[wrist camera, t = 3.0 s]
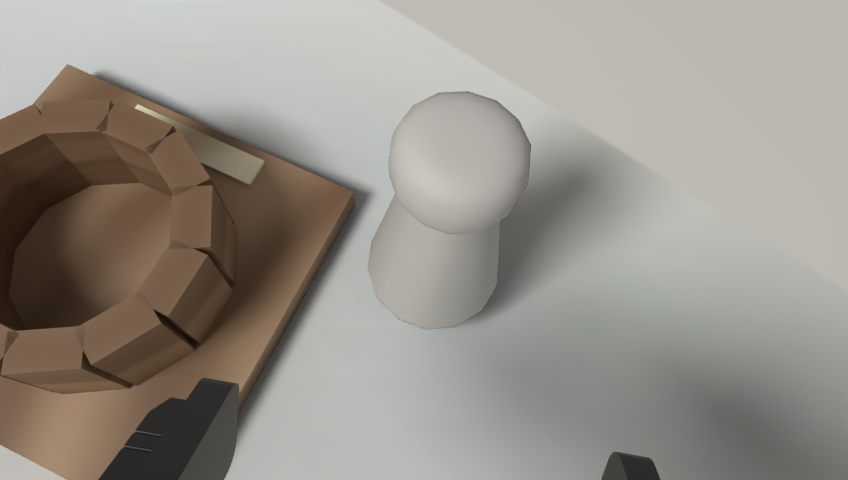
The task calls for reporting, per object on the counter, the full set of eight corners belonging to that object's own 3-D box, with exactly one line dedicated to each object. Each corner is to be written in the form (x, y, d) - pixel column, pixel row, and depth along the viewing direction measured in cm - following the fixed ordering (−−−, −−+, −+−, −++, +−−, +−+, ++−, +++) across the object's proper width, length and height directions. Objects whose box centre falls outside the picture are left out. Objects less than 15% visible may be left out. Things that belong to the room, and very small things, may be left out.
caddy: (354, 205, 31) (349, 142, 25) (174, 527, 25) (116, 536, 20) (80, 82, 33) (19, -2, 27) (-151, 358, 27) (-289, 322, 21)
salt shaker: (378, 218, 31) (379, 42, 19) (492, 233, 31) (566, 68, 19) (360, 333, 29) (349, 217, 17) (484, 348, 29) (561, 245, 17)
